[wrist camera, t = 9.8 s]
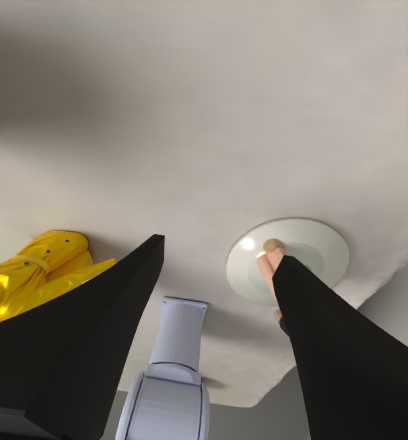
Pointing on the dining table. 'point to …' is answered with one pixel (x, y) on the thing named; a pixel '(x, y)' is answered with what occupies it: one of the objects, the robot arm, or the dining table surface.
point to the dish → (294, 246)
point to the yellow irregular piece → (46, 271)
